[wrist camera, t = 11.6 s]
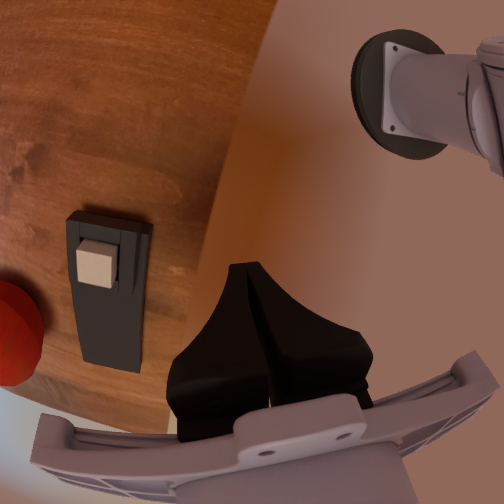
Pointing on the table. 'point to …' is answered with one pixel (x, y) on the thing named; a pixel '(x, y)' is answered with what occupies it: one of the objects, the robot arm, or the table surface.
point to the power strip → (110, 291)
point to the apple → (18, 335)
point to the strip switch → (97, 263)
